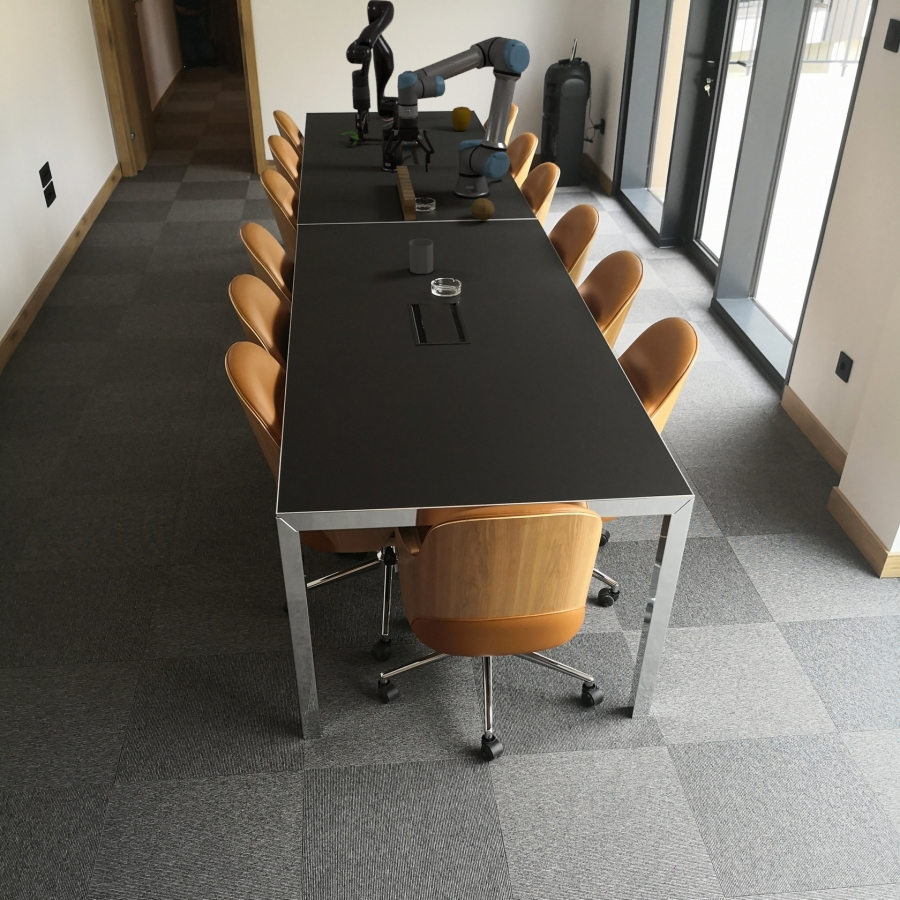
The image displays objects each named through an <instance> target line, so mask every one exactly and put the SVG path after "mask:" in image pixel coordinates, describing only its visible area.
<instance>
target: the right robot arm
mask: <svg viewBox="0 0 900 900" xmlns="http://www.w3.org/2000/svg"><path fill="white" fill-rule="evenodd" d="M530 60H531V54H530V50H529V48H528V46H527V45H526V43H524V42H523V41H521V40H518V39H516V38H515V39H513V38H508V37H503V36H493V37H489V38H486V39H484V40H481V41H478V42H476V43H474V44H471V45H470V47H469V48H468V49H466V50H463V51H461V52H458V53H456V54H453V55H450V56H449V57H446V58H443V59H441V60H439V61H436V62H434V63H432V64H429V65H426V66H423V67H421V68H418V69H416V70H413V71H412V70H404V71H403V72H401V73H400V74H398V76H397V86H396V87H397V97H398V110H399V116H400V117H399V130H394V129H392V130H391V136H390V138H389V141H388V143H387V145H386V147H385V150H384V154H385V155H388V158H389V164H392V172H391V173H392V174H394V173H395V171H394V163H393V155H392V154H393V152H394V151H395V150H396V149H397V147H398V146H399V145H400V144H401V145H402V143H403V142H405V143H408V142H410V143H411V142H412V143H413V142H416V144H418V146H419V147H420V148H421V149H422V150H423V152H425V154H424V156H425V157H424V158H425V159H424V160H425V162H424V164H425V173H428V172H429V171H428V169H429V167H428V164H431V156H432V155H434V154H435V153H436V150H435V148H434V147H433V144H432V143H431V140H430V138H429V137H428V134H427V129H426V128H423V129H419V117H418V116H419V103H418V102H419V101H418V100H423V99H432V98H439V97H443V95H444V94H445V93H446V83H445V81H446V80H449V79H452V78H454V77H457V76H459V75H462V74H464V73H467V72H469V71H471V70H474V69H476V70H481V69H483V68H492V74H493V76H494V78H495V79H494V84H493V90H492V96H491V101H490V107H489V112H488V118H487V124H486V129H485V135H484V138H483V139H467V140H463V141H461V142H459V145H458V177H457V181H456V184H455V187H454V195H455V196H456V197H457V198H462V199H470V200H471V199H472V200H474V199H475V200H476V199H479V198H485V197H487V196H489V194H490V189H489V187H488V186H490V185H491V184H493V183H497V182H498V183H499V182H503V179H502V177H503V176H505V175H506V174H507V172H508V171H509V168H510V165H511V161H510V160H511V159H510V157H509V155H508V154H507V153H508V151H507V150H508V146H507V144H506V138H507V132H508V127H509V122H510V116H511V111H512V105H513V100H514V96H515V95H514V94H515V89H516V84H517V82H518V81H519V80H520V79H521V78H522V73H524V72H525V71H526V69H528V68H529V65H530ZM397 133H398V134H399V136H400V138H399V139H398V141H397V142H396V143H395V145H394V146H393V147H392V149H391V150H390V151H388V150H389V147H390V145H391V143H392V141H393V138H394V136H396V134H397ZM420 134H421V136H423V138H424V141H425V142H426V144H427V146H428V148H427V146H426V145H425V144H424V143H423V142H422V140H421V139H420V138H419V135H420ZM487 179H490V180H491V181H488V182H487Z"/></svg>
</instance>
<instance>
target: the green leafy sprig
mask: <svg viewBox="0 0 900 900" xmlns="http://www.w3.org/2000/svg"><path fill="white" fill-rule="evenodd" d="M347 134H352V135H350V136H348V138H349V139H348V142H350V143H352V144H347V143H345V142H341V141H339V144H341V145H343V146H344V147H348V148H355V147H356V146H358V145H360V144H364V143H365V142H377V143H379V142H381V143H382V138H378V137H377V138H376V137H374V138H373V137H365V136H363V139H359V138H358V132H356V131H345V132H343V133H341V134H339V136H343V135H347Z"/></svg>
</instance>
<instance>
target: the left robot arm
mask: <svg viewBox="0 0 900 900" xmlns="http://www.w3.org/2000/svg"><path fill="white" fill-rule="evenodd" d="M366 15H367V22H368V25H366V26H365V27H364V28H363V29H362V30H361V32H360V34H359V36H358V37H357V38H356V39H354V40H353V41H352V42H351V43H350V44H349V45H348V46H347V48H346V52H345V57H346V61H347V62H348V63H350V64H353V65H361V68H359V69H355V70H352V72H351V85H352V86H351V88H352V89H351V95H352V96H351V97H352V108H353V109H354V110H356V111H357V113H355V114H354V121H355V129H356V130H357V134H358V138H359V139H363V137H364V135H368V134H369V125H370V124H369V123H370V121H371V120H370V109H371V107H372V105H371V90H370V79H369V78H370V77H369V75H370V68H371V62H372V61H373V69H374V78H375V87H376V89H375V90H376V91H375V92H376V110H377V115H378V117H380V118H385V119H391V118H393V120H392V121H390V122H389V123H386V124H384V125H383V124H382V126H381V139H382V142H381V151H382V152H381V153H382V170H383V171H385V172H391V173H392V164H389V158H388V155H385V154H384V150H385V147H386V145H387V143H388V141H389V138H390V136H391V130H392V129H394V130H399V117H400V116H399V110H398V96H385V95H386V94H385V90H386V87H387V85H388V83H389V81H390V79H391V78H392V76H393V74H394V70H395V57H394V51H393V50H392V48H391V46H390V45H389V43H388V42H387V40H386V38H385V37H384V36H383V33H384V31H386V29H387V28H388V27H389V26H390V25H391V24H392V22H393V20H394V17H395V6H394V4H393V2H392V1H390V0H368V2H367V6H366ZM399 138H400V136H399V134H398V133H397V134H396V136H394V138H393V141H392V143H391V145H390V147H389V150H388V151H390V150H391V149H392V147H393V146H394V145H395V143H396V142H397V141H398V139H399ZM392 155H393V163H394V172H397V170H396V166H404V164H403V162H404V161H405V160H406V159H408V158H411V157H412V155H411V154H409V155H407V156H404V157H403V148H402V143H401V144H400V145H399V146H398V147H397V149H396V150H395V151H394V152H393V154H392Z"/></svg>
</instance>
